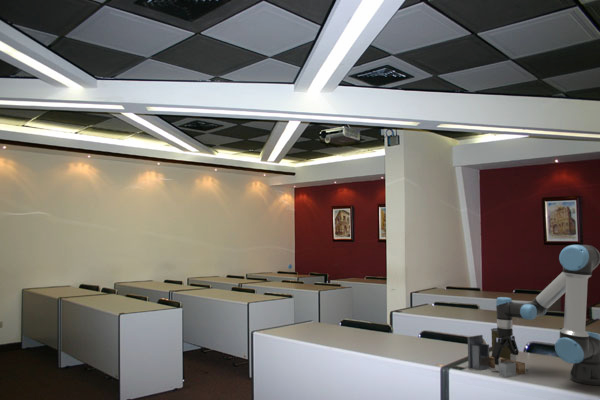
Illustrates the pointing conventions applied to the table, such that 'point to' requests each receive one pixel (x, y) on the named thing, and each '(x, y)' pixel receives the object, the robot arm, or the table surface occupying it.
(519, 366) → the rail
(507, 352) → the canister
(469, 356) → the bracket
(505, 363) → the block
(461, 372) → the table surface
